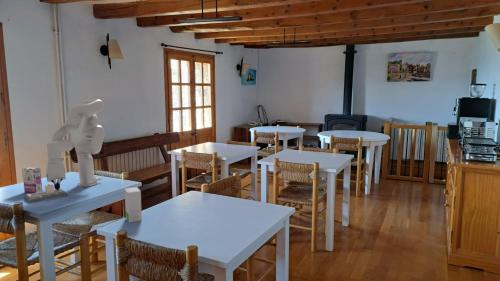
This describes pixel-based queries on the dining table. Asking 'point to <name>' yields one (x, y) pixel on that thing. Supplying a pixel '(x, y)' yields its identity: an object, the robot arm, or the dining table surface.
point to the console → (45, 195)
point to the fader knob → (49, 188)
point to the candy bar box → (32, 180)
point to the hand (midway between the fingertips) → (57, 189)
